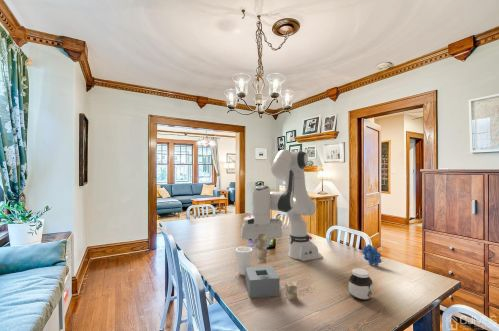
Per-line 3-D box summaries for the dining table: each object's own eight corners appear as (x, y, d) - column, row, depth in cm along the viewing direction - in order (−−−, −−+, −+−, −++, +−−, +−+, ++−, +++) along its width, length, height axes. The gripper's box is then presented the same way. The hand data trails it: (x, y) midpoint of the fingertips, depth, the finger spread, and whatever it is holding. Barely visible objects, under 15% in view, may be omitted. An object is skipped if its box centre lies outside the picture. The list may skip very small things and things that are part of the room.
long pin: (264, 260, 118) (264, 231, 118) (266, 263, 114) (266, 234, 114) (256, 260, 117) (256, 232, 117) (258, 263, 113) (258, 234, 114)
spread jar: (359, 303, 103) (359, 277, 103) (340, 291, 113) (340, 267, 113) (378, 297, 108) (378, 272, 108) (358, 286, 118) (358, 263, 118)
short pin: (293, 294, 111) (293, 281, 111) (297, 299, 107) (297, 285, 107) (285, 295, 110) (285, 282, 110) (288, 299, 106) (288, 286, 106)
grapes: (358, 263, 147) (358, 244, 147) (363, 260, 151) (363, 242, 151) (378, 269, 138) (378, 249, 138) (383, 266, 142) (383, 246, 142)
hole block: (271, 281, 123) (271, 265, 124) (279, 295, 110) (279, 278, 110) (245, 283, 121) (245, 267, 121) (249, 298, 107) (249, 280, 108)
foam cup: (239, 277, 128) (239, 253, 128) (233, 270, 136) (233, 248, 136) (255, 273, 132) (255, 250, 133) (247, 267, 141) (247, 245, 141)
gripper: (280, 217, 121) (280, 244, 120) (240, 218, 118) (240, 246, 117) (283, 219, 114) (283, 248, 114) (242, 220, 111) (241, 250, 111)
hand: (261, 247), depth 116 cm, fingers closed on long pin, 4 cm apart
